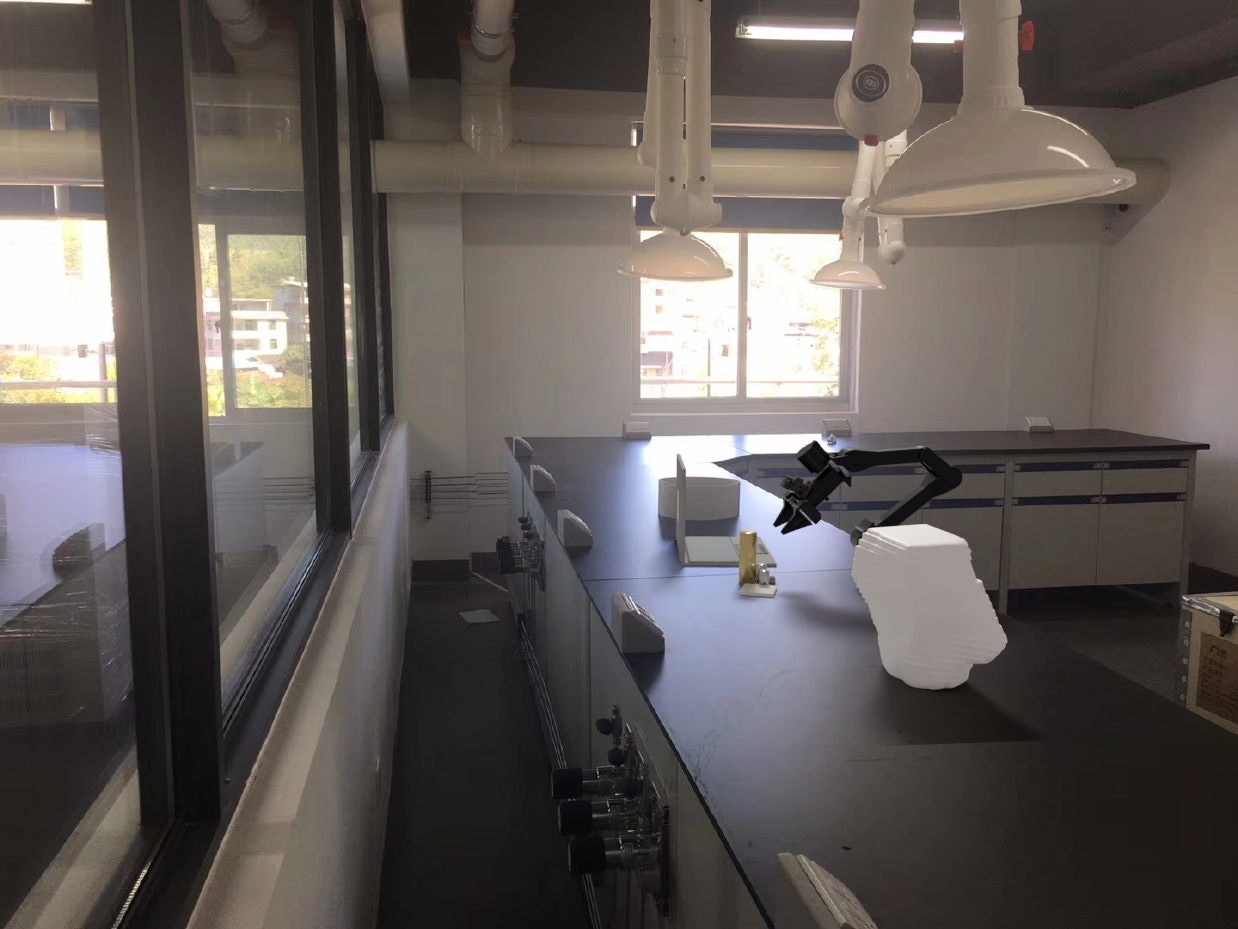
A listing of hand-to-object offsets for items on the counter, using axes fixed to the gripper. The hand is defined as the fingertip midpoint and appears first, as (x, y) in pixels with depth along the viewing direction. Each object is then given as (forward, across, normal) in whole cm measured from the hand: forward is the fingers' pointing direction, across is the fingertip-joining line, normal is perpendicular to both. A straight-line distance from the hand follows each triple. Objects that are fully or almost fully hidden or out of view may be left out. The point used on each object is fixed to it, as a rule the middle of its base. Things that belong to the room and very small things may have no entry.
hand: (777, 529), depth 234 cm
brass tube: (+15, 0, +4) cm, 16 cm away
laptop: (+16, -34, +4) cm, 38 cm away
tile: (+14, +9, +5) cm, 18 cm away
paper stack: (+1, +68, +18) cm, 70 cm away
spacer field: (+13, 0, +6) cm, 14 cm away
